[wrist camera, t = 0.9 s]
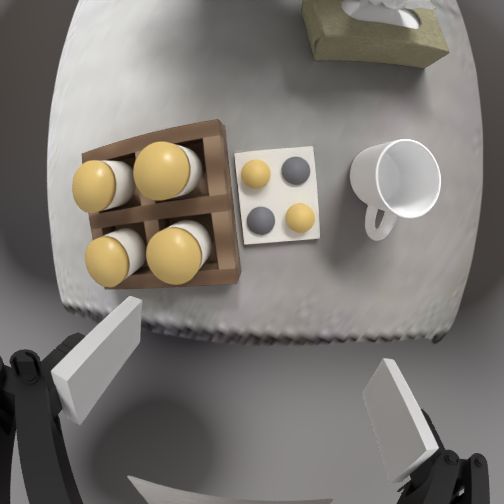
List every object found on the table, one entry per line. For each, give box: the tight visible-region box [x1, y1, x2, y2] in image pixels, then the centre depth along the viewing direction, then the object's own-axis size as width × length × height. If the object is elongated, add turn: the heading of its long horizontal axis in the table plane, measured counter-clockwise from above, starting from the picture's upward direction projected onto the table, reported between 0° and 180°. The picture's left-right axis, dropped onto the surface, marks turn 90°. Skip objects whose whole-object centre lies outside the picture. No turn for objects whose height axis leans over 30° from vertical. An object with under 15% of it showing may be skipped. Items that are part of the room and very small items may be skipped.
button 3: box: [133, 142, 203, 200], centre depth 28 cm, size 6×6×6 cm
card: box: [234, 146, 320, 245], centre depth 34 cm, size 12×10×2 cm
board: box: [82, 119, 241, 289], centre depth 35 cm, size 20×20×5 cm
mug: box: [350, 139, 441, 241], centre depth 29 cm, size 12×8×10 cm
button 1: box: [72, 160, 136, 213], centre depth 29 cm, size 6×6×6 cm
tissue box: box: [301, 0, 450, 68], centre depth 20 cm, size 19×10×16 cm, turn 98°
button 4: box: [146, 220, 212, 285], centre depth 31 cm, size 6×6×6 cm
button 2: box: [85, 228, 146, 287], centre depth 31 cm, size 6×6×6 cm
